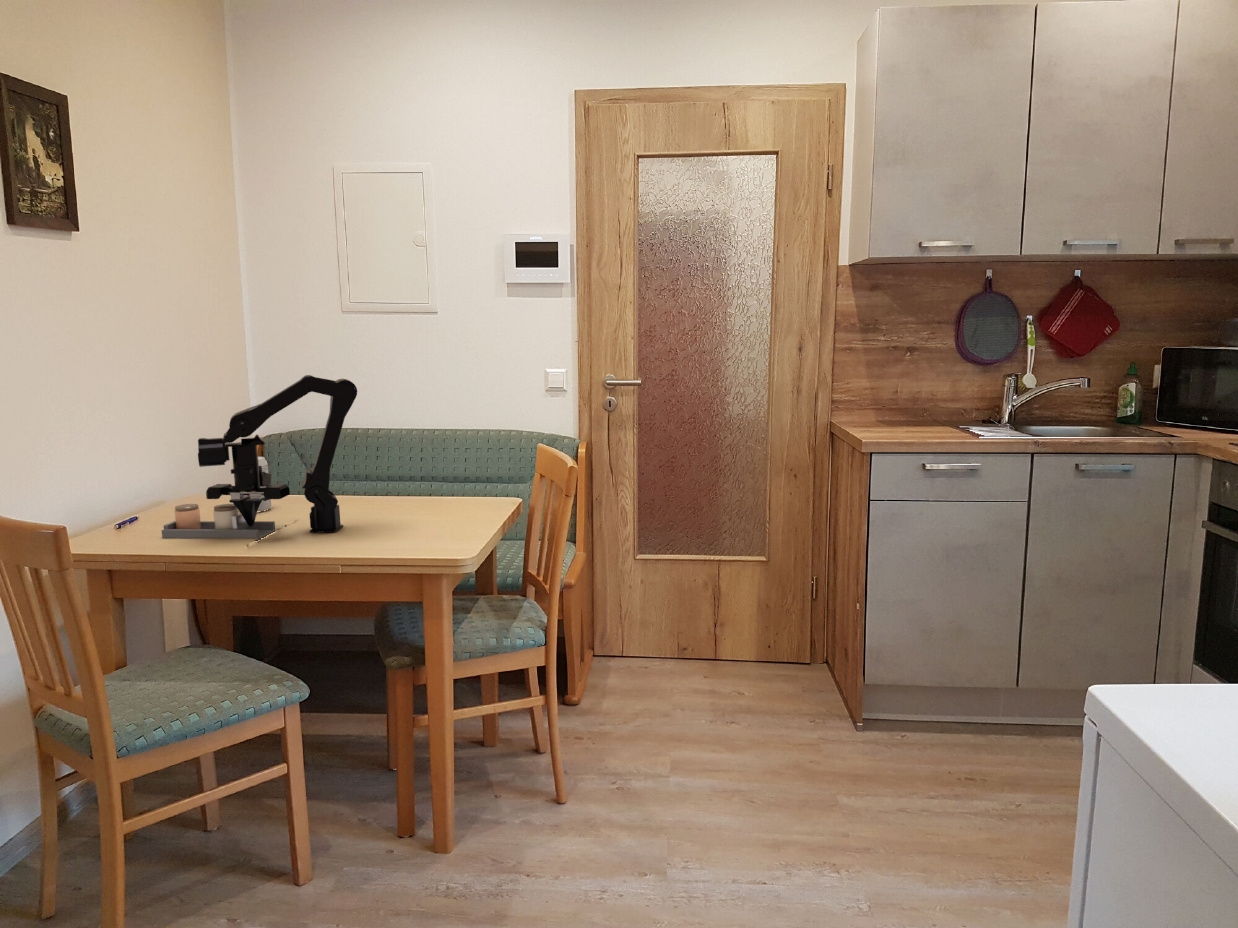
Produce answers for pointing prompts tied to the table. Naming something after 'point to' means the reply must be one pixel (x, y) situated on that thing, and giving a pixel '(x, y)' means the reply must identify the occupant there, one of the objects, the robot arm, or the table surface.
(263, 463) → the supplement can
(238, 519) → the plate
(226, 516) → the cream jar
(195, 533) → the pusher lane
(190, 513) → the front jar
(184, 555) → the table surface
